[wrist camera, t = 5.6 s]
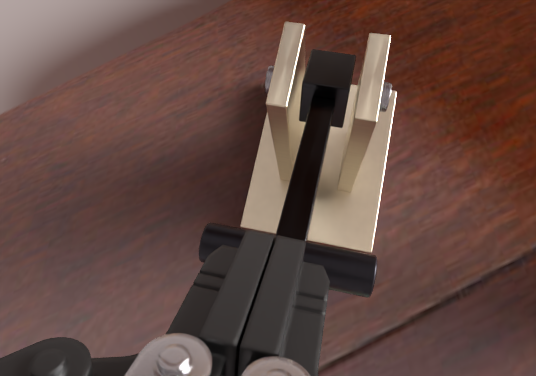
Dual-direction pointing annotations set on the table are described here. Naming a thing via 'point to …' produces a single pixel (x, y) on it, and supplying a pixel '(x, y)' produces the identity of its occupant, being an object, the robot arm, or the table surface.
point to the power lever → (312, 178)
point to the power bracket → (337, 152)
